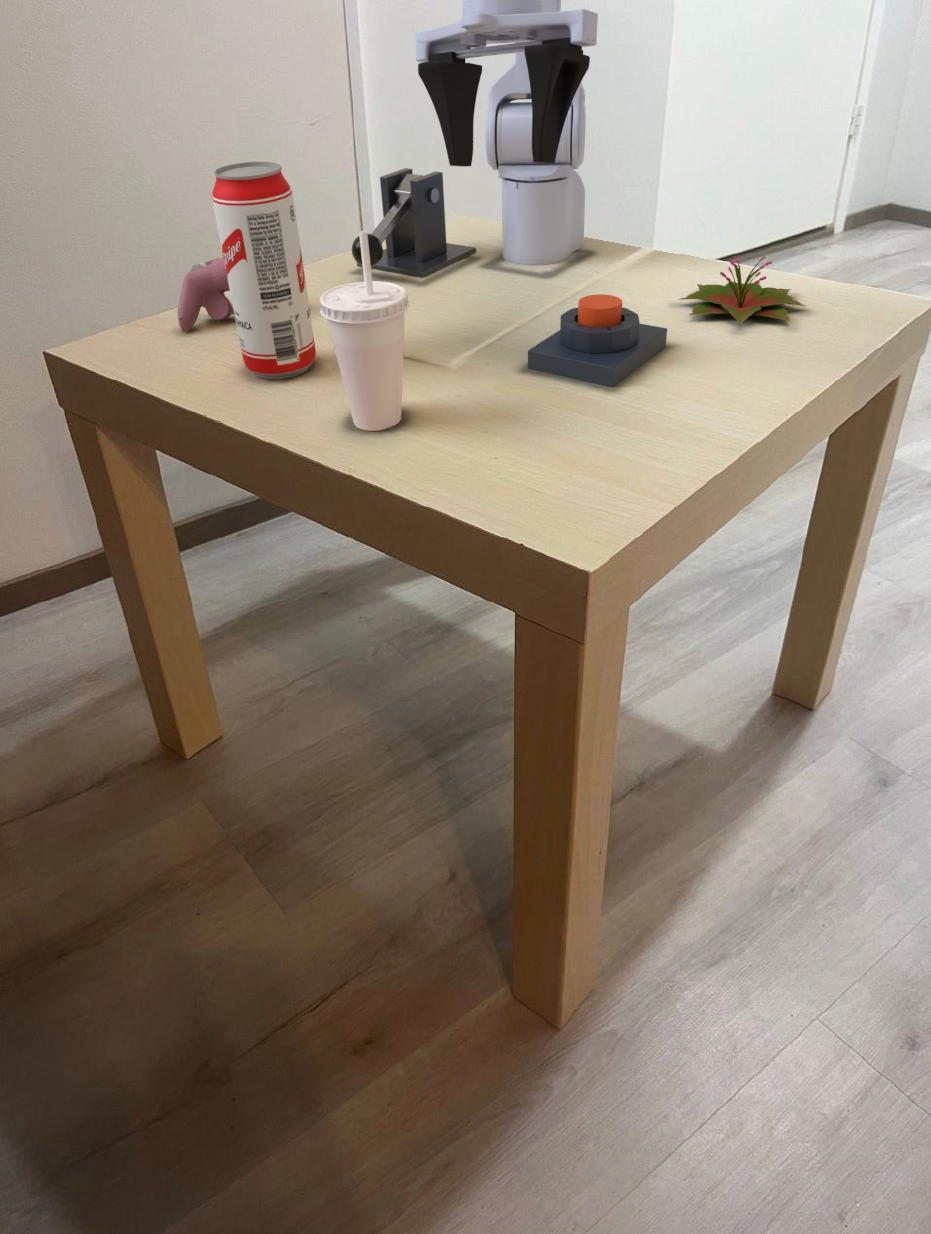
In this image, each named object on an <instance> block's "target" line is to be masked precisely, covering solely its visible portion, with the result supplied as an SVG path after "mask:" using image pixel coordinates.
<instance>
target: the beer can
mask: <svg viewBox="0 0 931 1234" xmlns="http://www.w3.org/2000/svg"><path fill="white" fill-rule="evenodd" d="M213 173H214V176H215V182H214V185H213V189H212V192H211V201H212V206H213V211H214V217H215V223H216V227H217V232H218V238H219V243H220V247H221V254H222V258H224V263H225V269H226V274H227V279H228V284H229V289H230V291H229V294H230V299H231V305H232V311H233V314H234V320H235V325H236V330H237V336H238V340H239V346H240V350H241V351H240V352H241V356H242V360H243V364H244V365H245V368H246V369H247V370H248V371H250V372H251V373H253V374H254V375H255V376H256V377H258V378H261V379H266V380H283V379H288V378H294V377H297V376H299V375H301V374H303V373H305V372H306V371H308V370H309V369H310V366H311V365H312V364H313V363H314V361H315V359H316V356H317V350H316V343H315V337H314V336H315V335H314V329H313V322H312V316H311V309H310V302H309V295H308V289H307V282H306V275H305V267H304V262H303V254H302V248H301V242H300V235H299V228H298V221H297V214H296V209H295V208H296V207H295V201H294V194H293V190H292V187H291V186H290V184H289V182H288V181H287V179H286V178H285V177H284V174H283V173H282V165H280V163H277V162H271V161H246V162H238V163H233V164H228V165H224V166H221V167H218V168H216V169H215V170H214V171H213Z"/></svg>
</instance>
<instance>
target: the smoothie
mask: <svg viewBox="0 0 931 1234" xmlns="http://www.w3.org/2000/svg"><path fill="white" fill-rule="evenodd" d="M367 234H368V231H367V230H360V231H359V232H358V236H359V237H360V246H361V255H362V265H363V267H362V273H363V281H355V282H354V281H353V282H349V283H344V284H340V285H337V286H334V287H332V288H330V289H327V290H325V292H323V293H322V294H321V296H320V297H319V304H320V305H319V306H320V309H319V310H320V312H319V314H320V315H321V316H322V317H323V318H324V319H326V323H327V326H328V331H329V335H330V339H331V341H332V345H333V349H334V353H335V356H336V362H337V364H338V369H339V372H340V376H341V380H342V384H343V387H344V392H345V395H346V400H347V403H348V407H349V410H350V414H351V419H352V422H353V425H354V426H355V427H356V428H358V429H360V430H364V431H371V432H372V431H373V432H375V431H384V430H386V429H388V428H391V427H394V426H395V425H397V424H399V423H400V421H401V420H402V407H403V406H402V403H403V375H404V349H405V327H406V326H405V325H406V324H405V322H406V321H405V320H406V312H407V310H408V309H409V308H410V302H409V294H408V291H407V289H406V288H405V287H404V286H402V285H400V284H398V283H394V282H389V281H382V280H373V277H372V276H373V275H372V274H373V273H372V269H371V265H370V255H369V245H368V236H367Z"/></svg>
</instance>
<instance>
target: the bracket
mask: <svg viewBox="0 0 931 1234" xmlns="http://www.w3.org/2000/svg"><path fill="white" fill-rule="evenodd" d="M407 174H414V172H413V169H412V168H406V167H405V168H402V169H398V170H395V171H393V172H390V173H387V174H384V175H382V176H379V183H380V194H381V204H382V213H383V214H382V217H383V218H384V217H385V216H386V214H387V213H388V212H389V211H390V209H391V208H392V207H393V206H394V204H395V203H396V202H397V200H398V199H397V197H396V194H395V192H394V190H395V189H396V188H397V186H398V185H399V184H400V183H401V181H402V180H403V179H404V178H405V176H406V175H407ZM410 185H411V199H412V211H407V212H406V213H405V215H404V216H403V217H402V219H401V220H400V221H399V222H398V224H397V225H396V226H395V228H394V229H393V230H392V231H391V233H390V234H389V235H388V237H387V238H386V239H385V247H386V248H383V255H382V258H381V260H380V261H379V263H377V264H376V265H374V266H372V267H371V270H376V271H381V272H387V273H391V274H392V273H393V274H398V275H403V276H410V277H415V278H420V279H424V278H426V277H428V276H430V275H432V274H435V273H436V272H438V271H440V270H443V269H446V268H447V267H449V266H452V265H454V264H455V263H458V262H459V261H462V260H464V259H466V258H468V257H470V256H472V255H475V254H476V253H477V248H476V247H474V246H469V245H468V246H467V245H462V244H455V243H449V242H447V230H446V228H447V227H446V212H445V211H446V210H445V193H444V191H445V190H444V173H443V172H442V171H433V172H431V173H428V174H425V175H423V176H421V177H419V178H416V179H413V180H410ZM356 266H357V267H360V268H363V266H361V265H360V264H358V263H357V262H356Z"/></svg>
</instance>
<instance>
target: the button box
mask: <svg viewBox="0 0 931 1234" xmlns="http://www.w3.org/2000/svg"><path fill="white" fill-rule="evenodd" d="M559 325H560V326H559V327H560V328H559V330H558V331H556V332H555V333H553V334H551V335H550V336H548V337H546V338H545V339H543V340H542V341H540V342H539V343H537V344H536V345H534V346H533V347H531V348H529V349H528V350H527V369H528V370H530V371H531V370H532V371H536V372H541V373H545V374H550V375H553V376H558V377H563V378H568V379H572V380H577V381H581V382H585V383H591V384H593V385H599V386H603V387H608V388H614V387H615V386H616V385H618V384H619V383H620V382H622V381H623V380H624V379H626V378H628V376H630V375H631V374H632V373H634V371H636V370H637V369H639V368H640V367H641V366H642V365H644V364H645V363H646V362H648V361H649V360H650V359H652V358H653V357H654V356H656V355H657V354H658V353H660V352H661V351H662V350H663V349H665V348H666V347H667V338H668V337H667V336H668V328H667V327H661V326H656V325H651V324H645V323H640V316H639V314H638V313H637V312H635V311H633V310H631V309H629V308H627V307H623V306H622V316H621V323H620V324H619V325H615V326H610V327H590V326H584V325H581V324H579V323H578V307H574V308H571V309H568V310H567V311H565V312H564V313H562V314H560V323H559Z"/></svg>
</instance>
